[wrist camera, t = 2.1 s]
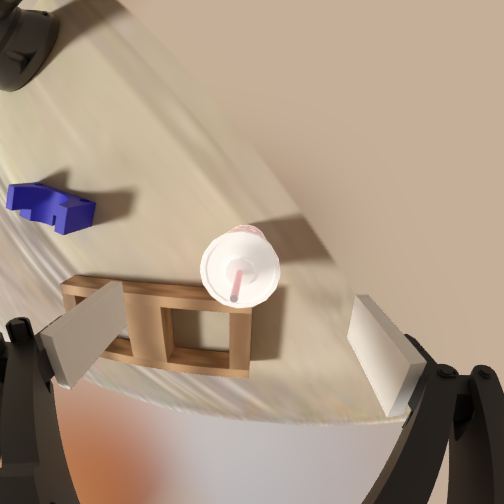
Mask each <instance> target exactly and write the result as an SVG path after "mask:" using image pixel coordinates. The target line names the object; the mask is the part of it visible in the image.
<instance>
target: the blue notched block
mask: <svg viewBox="0 0 504 504" xmlns="http://www.w3.org/2000/svg"><path fill="white" fill-rule="evenodd" d="M95 205H96V203H95V202H92V201H89V200H86V199H83V198H80V197H77V196H75V195H72V194H69V193H66V192H63V191H60V190H57V189H55V188H52V187H49V186H46V185H43V184H40V183H38V182H34V183H22V184H11V185H9V187H8V194H7V203H6V208H8V209H10V210H20V216H22V217H24V218H26V219H28V220H30V221H37V222H42V223H46V224H49V225H51V226H53V225H55V230H54V231H55V232H57V233H60V234H62V235H66V234H69V233H72V232H75V231H78V230H81V229H84V228H88V227H91V226H92V221H93V215H94V210H95Z"/></svg>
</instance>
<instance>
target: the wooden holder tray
mask: <svg viewBox="0 0 504 504" xmlns="http://www.w3.org/2000/svg"><path fill="white" fill-rule="evenodd" d="M110 281H118V282H122V286H123V294H124V302H125V309H126V315H127V322H128V325H127V326H128V331H129V337H130V340H125V339H120V338H115V339H114V340H113V341H112V342H111V344H110V345H109V346H108V347H107V348H106V349H105V350H104V352H103V353H102V354H101V355H100V356H99V357H102V358H107V359H111V360H115V361H120V362H125V363H129V364H134V365H140V366H145V367H151V368H157V369H163V370H169V371H176V372H184V373H192V374H200V375H210V376H221V377H235V378H249V365H250V345H251V323H252V307H247V308H234V307H230V306H227V305H223V304H222V303H220V302H219V301H217V300H216V299H215V298H213V297H212V296H211V295H210V294H209V292H208V291H207V289H206V288H205V287H195V286H181V285H168V284H156V283H144V282H133V281H123V280H113V279H104V278H94V277H86V276H77V275H75V276H73V277H71V278H69V279H68V280H66V281H64V282H62V283H61V284H60V286H61V291H62V296H63V301H64V306H65V310H66V313H67V312H68V311H69V310H71V309H72V308H73V307H75V306H76V305H78V304H79V303H80V302H82V301H83V300H85V299H86V298H87V297H89V296H90V295H92V294H93V293H94V292H96V291H97V290H99V289H100V288H102V287H103V286H104V285H106V284H107V283H109V282H110ZM171 308H176V309H187V310H199V311H212V312H227V313H230V352H219V351H207V350H197V349H187V348H179V347H175V345H174V336H173V327H172V316H171Z"/></svg>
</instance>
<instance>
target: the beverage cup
mask: <svg viewBox="0 0 504 504" xmlns="http://www.w3.org/2000/svg"><path fill="white" fill-rule="evenodd" d="M200 272H201V278H202V283H203V285H204V286H205V288H206V289H207V291H208V292H209V294H210V295H211V296H212V297H213V298H215V299H216V300H217V301H219V302H220V303H222V304H223V305H227V306H230V307H234V308H247V307H254V306H256V305H258V304H260V303H262V302H264V301H266V300H267V299H268V297H269V296H270V295H271V294H272V293H273V292H274V291H275V289H276V287H277V284H278V281H279V278H280V265H279V258H278V256H277V255H276V253H275V251H274V249H273V247H272V246H271V244H270V243H269V242H267V240H266V238H265V236H264V234H263V233H262V231H260V230H259V229H258V228H256V227H255V226H251V225H248V224H246V225H238V226H237V227H235V228H233V229H231V230H230V231H229V232H227V233H225V234H223V235H222V236H220V237H218V238H216V239H215V240H213V241H212V243H211V244H210V245H209V247H208V248H207V249H206V251H205V252H204V253H203V257H202V261H201V265H200Z"/></svg>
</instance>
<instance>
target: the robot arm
mask: <svg viewBox="0 0 504 504" xmlns="http://www.w3.org/2000/svg"><path fill="white" fill-rule="evenodd" d="M21 1H22V0H0V90H3V91H7V92H12V91H15V90H17V89H19V88H20V87H22V86H23V85H24V84H25V83H26V82H27V81H28V80H29V79H30V78H31V77H32V76H33V75H34V74H35V72H36V71H37V70H38V68H39V67H40V66H41V64H42V63H43V61H44V60H45V58H46V57H47V55H48V53H49V52H50V50H51V48H52V46H53V44H54V42H55V39H56V36H57V33H58V29H59V20H58V18H57V17H56V16H54V15H53V14H51V13H49V12H46V11H37V10H24V9H20V8H19V7H17V6H18V4H19V3H20V2H21ZM127 325H128V322H127V315H126V309H125V302H124V294H123V286H122V282H118V281H110V282H109V283H107V284H106V285H104V286H103V287H102V288H100V289H99V290H97V291H96V292H94V293H93V294H92V295H90V296H89V297H87V298H86V299H85V300H83V301H82V302H80V303H79V304H78V305H76V306H75V307H73V308H72V309H71V310H69V311H68V312H67V313H65V314H64V315H62V316H60V317H58V318H57V319H56V320H54V322H52V323H50V324H49V326H46V327H45V328H44V329H42V330H41V331H40V332H39V333H37V334H36V335H35V336H34V333H33V330H32V327H31V323H30V320H29V319H28V318H25V317H18V318H14V319H12V320H10V321H9V322H8V323H7V324H6V329H7V332H8V335H9V338H10V341H11V342H5V341H4V338H3V335H2V333H1V332H0V459H1V458H2V467H1V468H0V504H80V502H79V500H78V497H77V494H76V491H75V489H74V486H73V483H72V480H71V476H70V473H69V469H68V466H67V462H66V458H65V454H64V450H63V446H62V441H61V437H60V431H59V426H58V420H57V414H56V407H55V400H54V391H53V384H52V382H51V380H50V379H51V378H52V377H53V376H54V375H55V377H56V380H57V382H58V385H59V386H62V387H64V388H67V389H69V390H71V389H72V388H73V387H74V386H75V384H76V383H77V382H78V381H79V380H80V379H81V377H82V376H83V375H84V374H85V373H86V371H87V370H88V369H89V368H90V367H91V366H92V364H93V363H94V362H95V361H96V360H97V359H98V357H99V356H100V355H101V354H102V353H103V352H104V350H105V349H106V348H107V347H108V346H109V345H110V344H111V342H112V341H113V340H114V339H115V338H116V337H117V336H118V335H119V333H120V332H121V331H122V330H123V329H124V328H125V327H126V326H127ZM347 339H348V341H349V343H350V344H351V346H352V348H353V350H354V352H355V354H356V356H357V358H358V360H359V362H360V364H361V366H362V368H363V370H364V372H365V374H366V376H367V378H368V380H369V382H370V384H371V386H372V388H373V390H374V392H375V394H376V396H377V398H378V400H379V402H380V404H381V406H382V408H383V410H384V412H385V414H386V417H387V418H388V417H393V416H398V415H402V414H403V413H404V411H405V409H406V407H407V405H409V407H410V408H411V412H410V414H409V416H408V418H407V419H406V421H405V423H404V425H403V426H402V428H403V430H402V432H401V435H400V436H399V439H398V441H397V443H396V445H395V447H394V449H393V451H392V453H391V455H390V457H389V459H388V461H387V462H386V464H385V466H384V468H383V470H382V472H381V473H380V475H379V477H378V479H377V480H376V482H375V483H374V485H373V487H372V488H371V490H370V492H369V493H368V495H367V496H366V498H365V499H364V501H363V502H362V504H427V502H428V500H429V498H430V495H431V493H432V490H433V488H434V485H435V482H436V479H437V476H438V473H439V470H440V467H441V464H442V461H443V457H444V454H445V450H446V447H447V443H448V439H449V484H448V497H447V504H504V393H503V390H502V387H501V385H500V382H499V379H498V377H497V374H496V373H495V371H494V370H493V369H491V368H490V367H488V366H486V365H477V366H475V367H474V368H473V370H472V372H471V374H470V375H459V373H458V372H457V370H456V369H454V368H453V367H451V366H449V365H446V364H437V363H436V362H435V361H434V359H433V358H432V357H431V356H430V355H429V354H428V353H427V352H426V351H425V350H424V348H423V347H422V346H420V344H419V342H418V341H417V340H416V339H415V338H413V337H411V336H410V335H408V334H403V333H402V332H401V331H400V330H399V329H398V327H397V326H396V325H395V324H394V323H393V322H392V321H391V319H390V318H389V317H388V316H387V315H386V314H385V313H384V312H383V311H382V310H381V309H380V307H379V306H378V305H377V304H376V303H375V302H374V301H373V300H372V299H371V298H370V296H369V295H355V301H354V306H353V312H352V317H351V322H350V327H349V331H348V336H347Z"/></svg>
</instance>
